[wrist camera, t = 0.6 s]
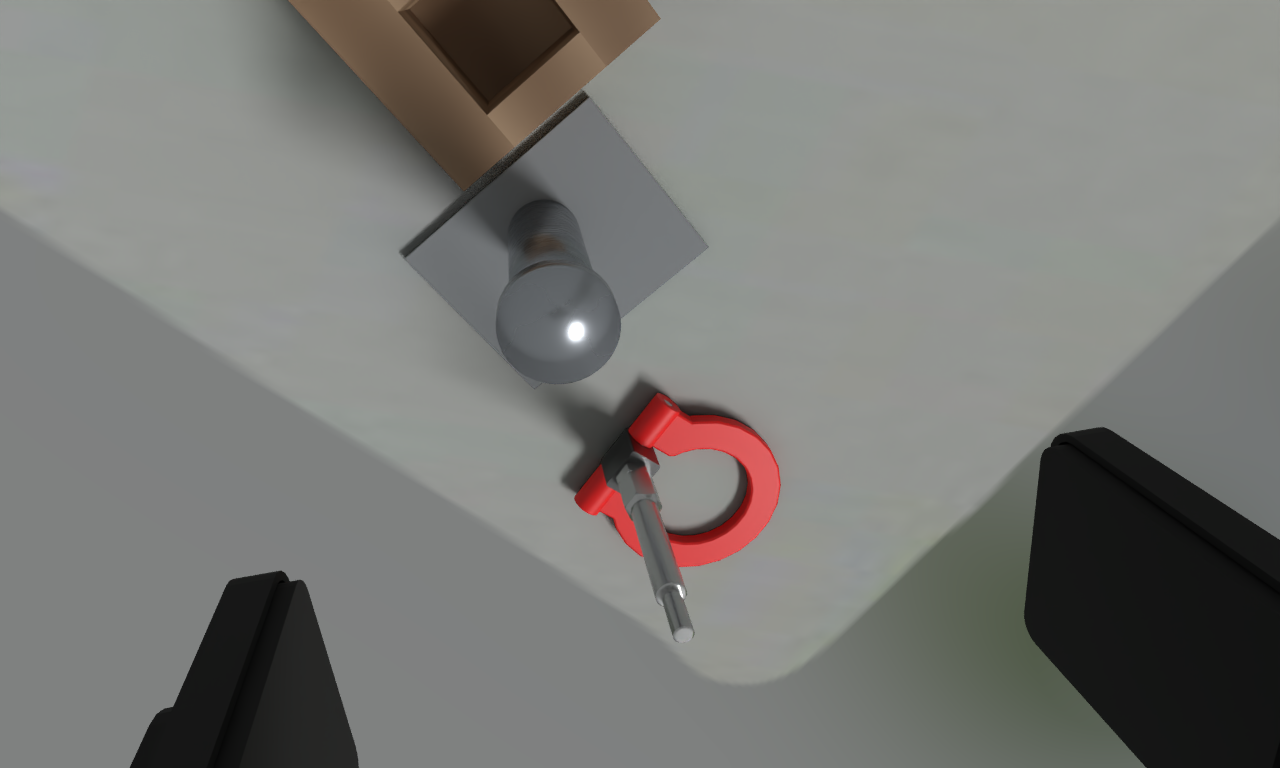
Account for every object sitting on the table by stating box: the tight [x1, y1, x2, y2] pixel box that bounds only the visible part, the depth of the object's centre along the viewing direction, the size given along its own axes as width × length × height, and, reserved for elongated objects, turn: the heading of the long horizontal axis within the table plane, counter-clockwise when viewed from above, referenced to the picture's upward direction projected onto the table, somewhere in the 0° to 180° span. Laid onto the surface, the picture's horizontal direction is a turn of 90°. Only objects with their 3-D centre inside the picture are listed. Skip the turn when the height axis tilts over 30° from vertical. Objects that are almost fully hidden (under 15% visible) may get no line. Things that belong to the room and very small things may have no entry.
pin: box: [496, 200, 621, 384], centre depth 31 cm, size 4×4×11 cm
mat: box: [405, 97, 708, 389], centre depth 37 cm, size 10×8×1 cm
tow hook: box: [574, 393, 781, 643], centre depth 37 cm, size 8×13×9 cm
